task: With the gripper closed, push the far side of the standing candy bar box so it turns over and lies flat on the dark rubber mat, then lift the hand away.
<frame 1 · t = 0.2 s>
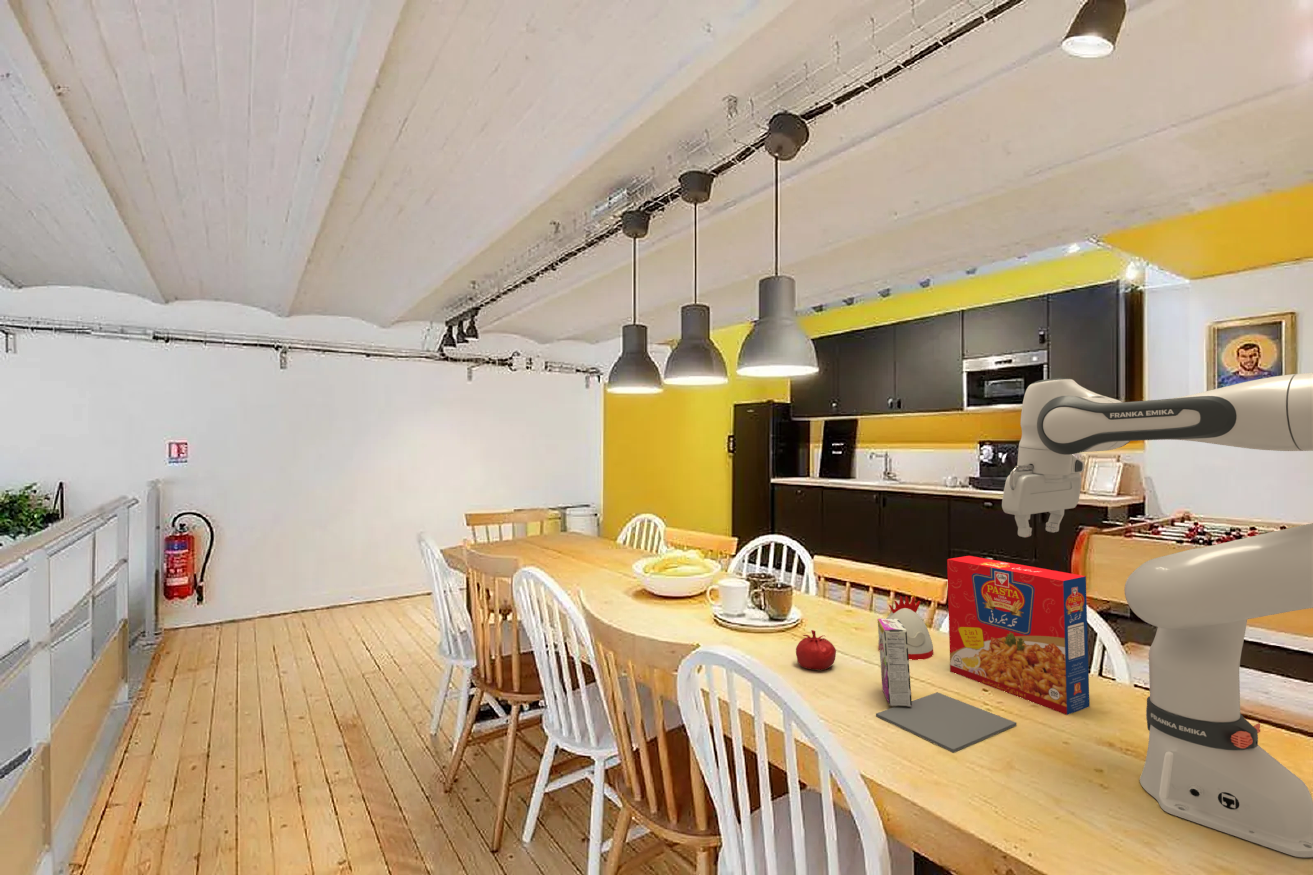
hand: (1038, 534, 121), 39 cm above the table, tool pointing down, fingers open, 8 cm apart
candy bar box: (896, 699, 139), on the table, touching rubber mat
pasta box: (1014, 688, 144), on the table
pomegranate: (816, 667, 160), on the table
rubber mat: (944, 720, 128), on the table
kitchen timer: (905, 652, 170), on the table
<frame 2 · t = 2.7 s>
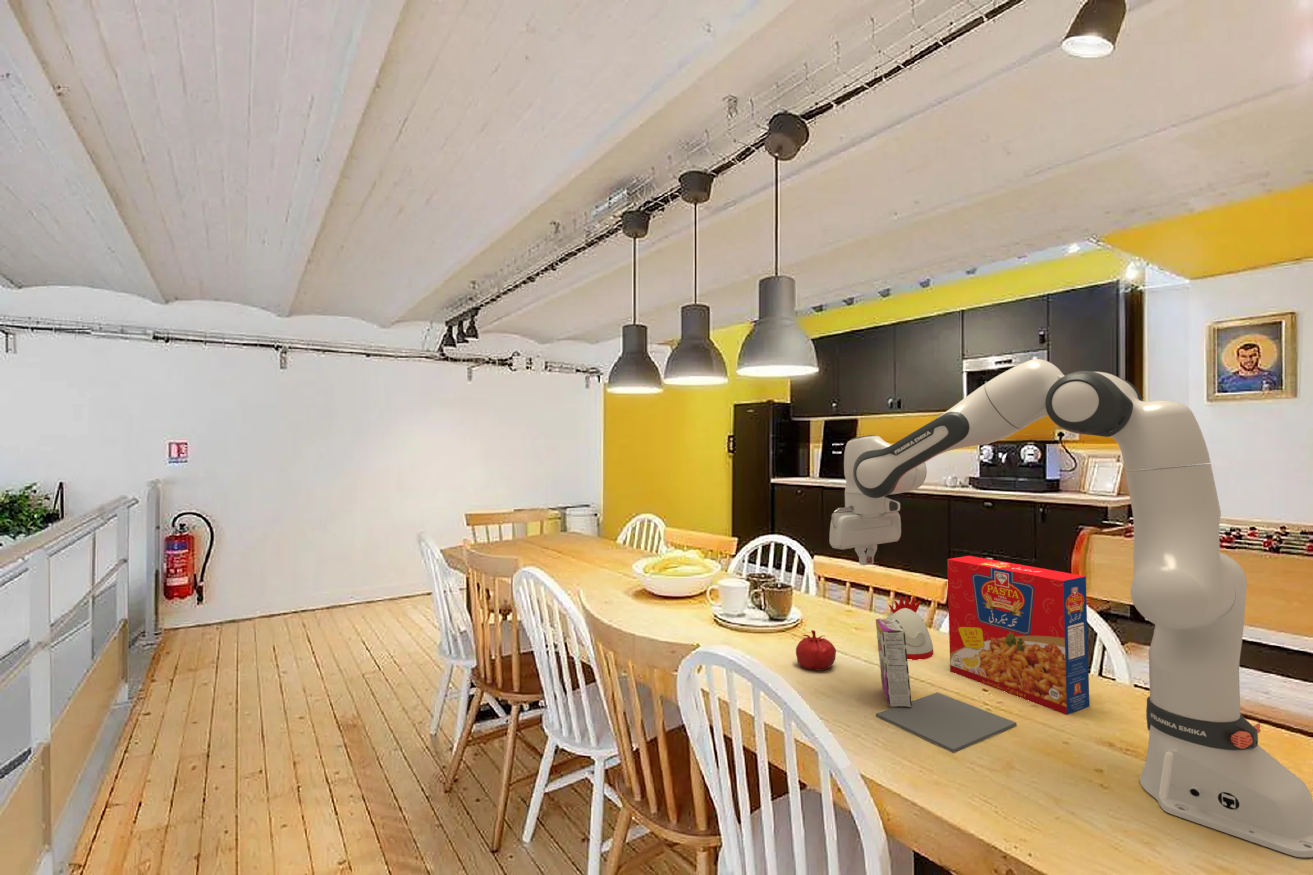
hand: (866, 564, 145), 29 cm above the table, tool pointing down, fingers closed
nothing on the table moved.
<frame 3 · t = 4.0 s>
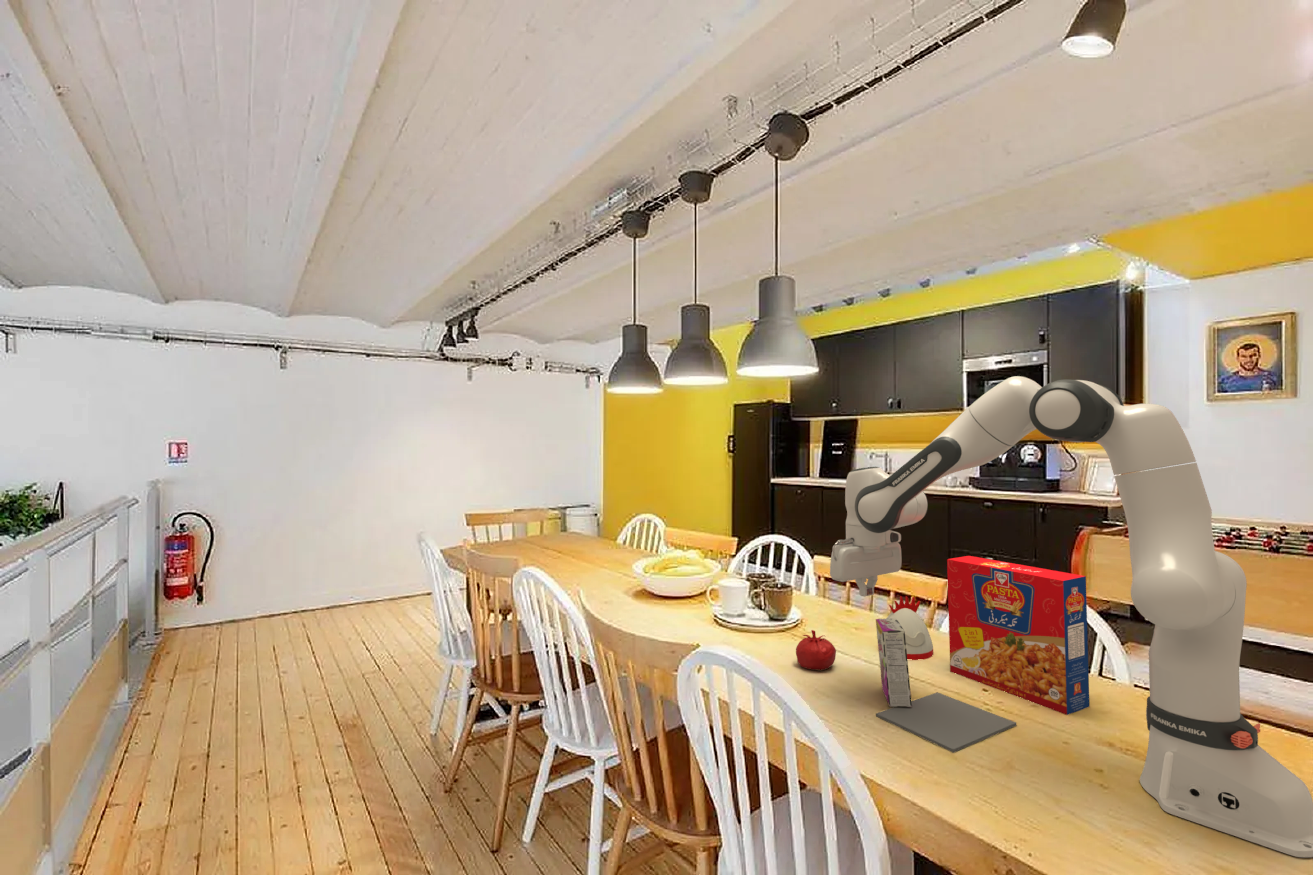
hand: (866, 595, 145), 22 cm above the table, tool pointing down, fingers closed
nothing on the table moved.
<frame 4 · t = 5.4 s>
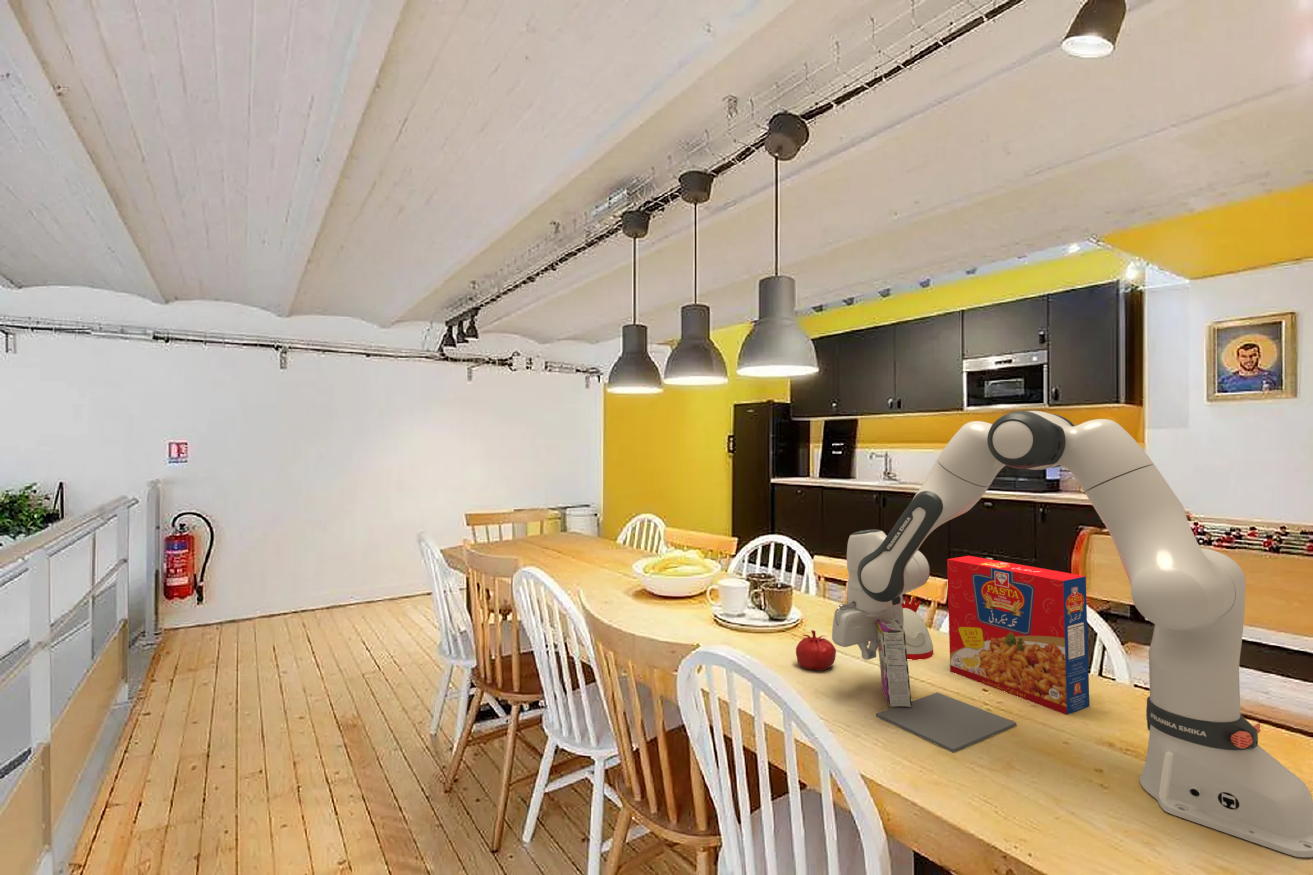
hand: (869, 658, 145), 7 cm above the table, tool pointing down, fingers closed
candy bar box: (896, 699, 139), on the table, touching gripper, rubber mat
everything else where it was.
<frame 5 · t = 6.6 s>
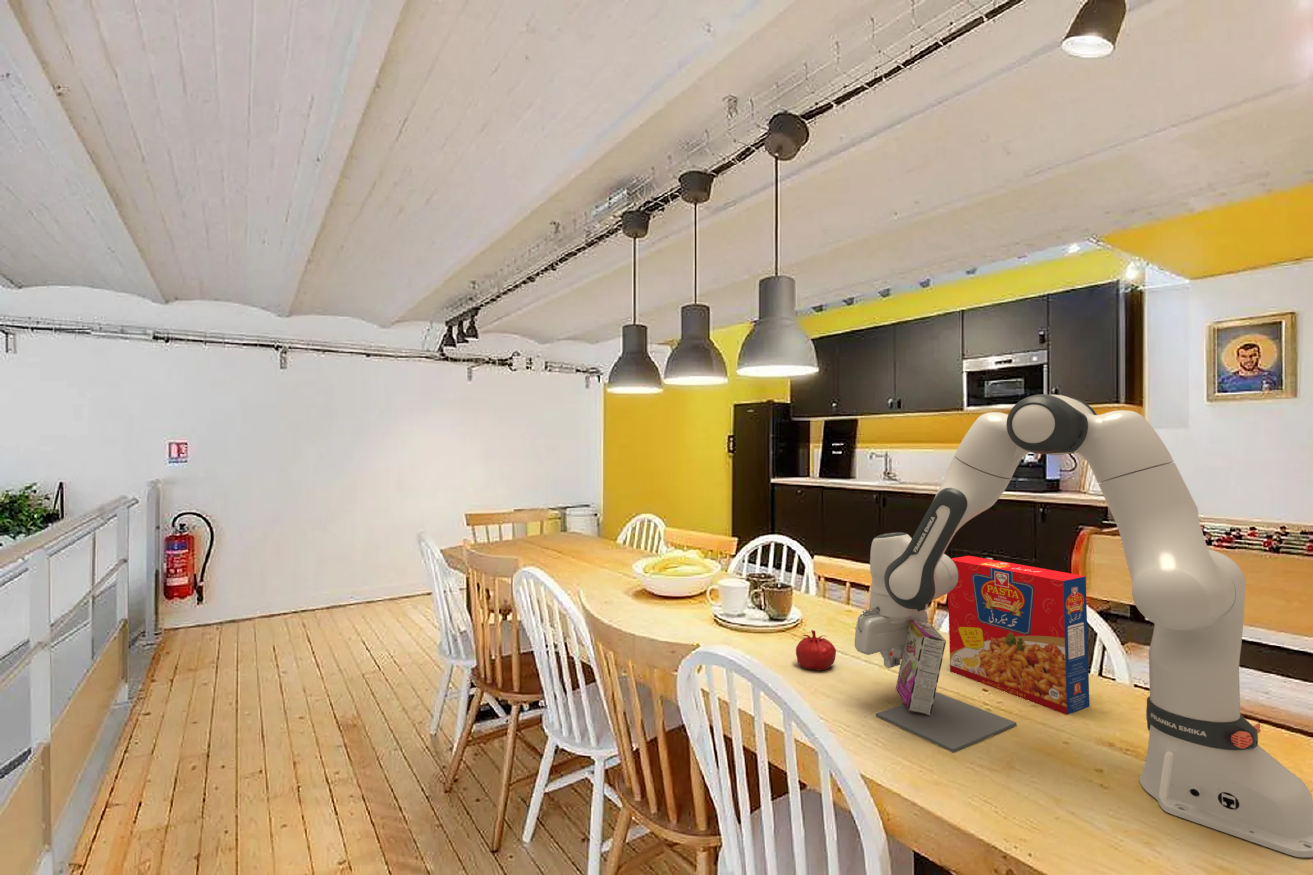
hand: (892, 666, 140), 7 cm above the table, tool pointing down, fingers closed
candy bar box: (911, 703, 135), point 1 cm above the table, touching gripper, rubber mat
everything else where it was.
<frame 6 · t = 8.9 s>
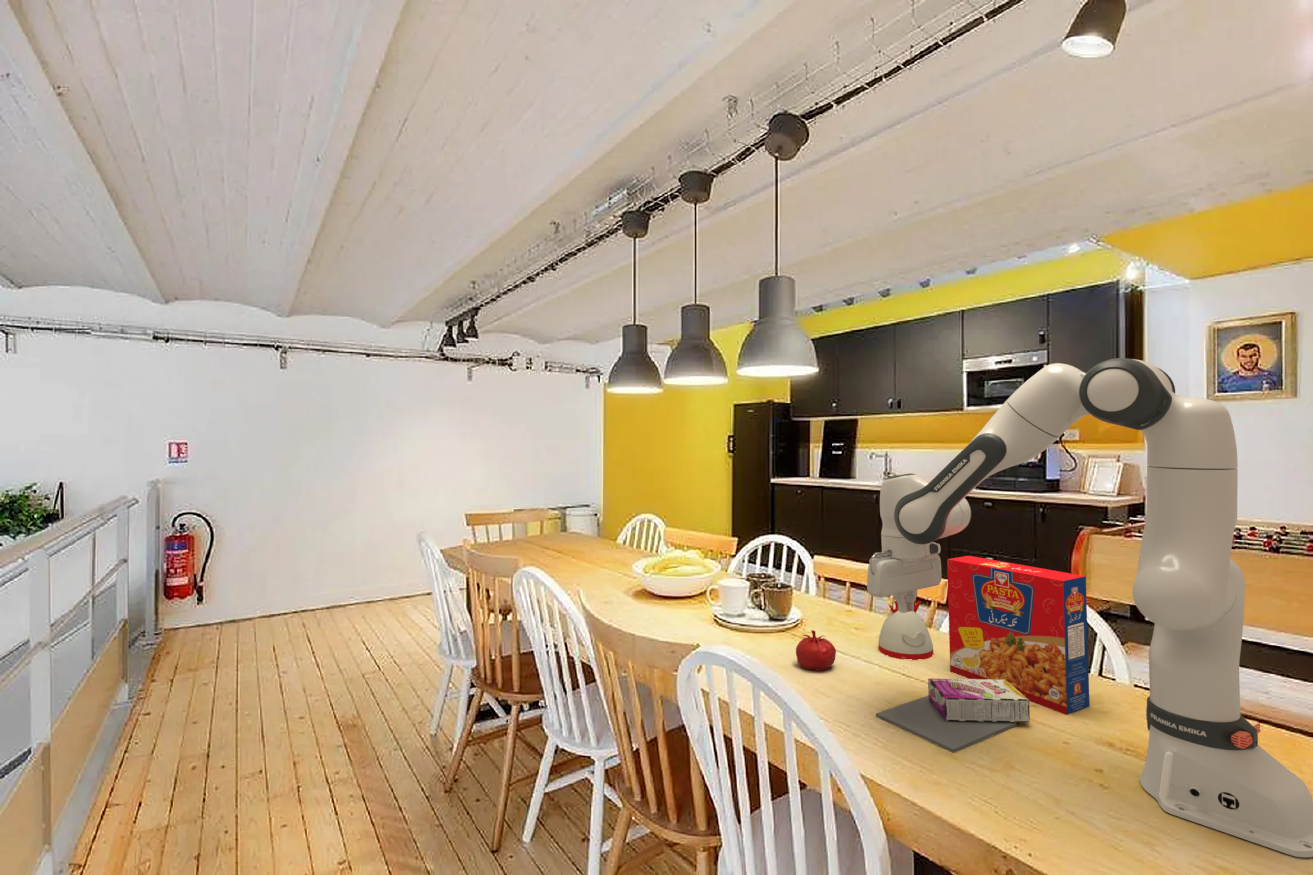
hand: (906, 611, 136), 21 cm above the table, tool pointing down, fingers closed
candy bar box: (935, 698, 132), point 3 cm above the table, touching rubber mat
everything else where it was.
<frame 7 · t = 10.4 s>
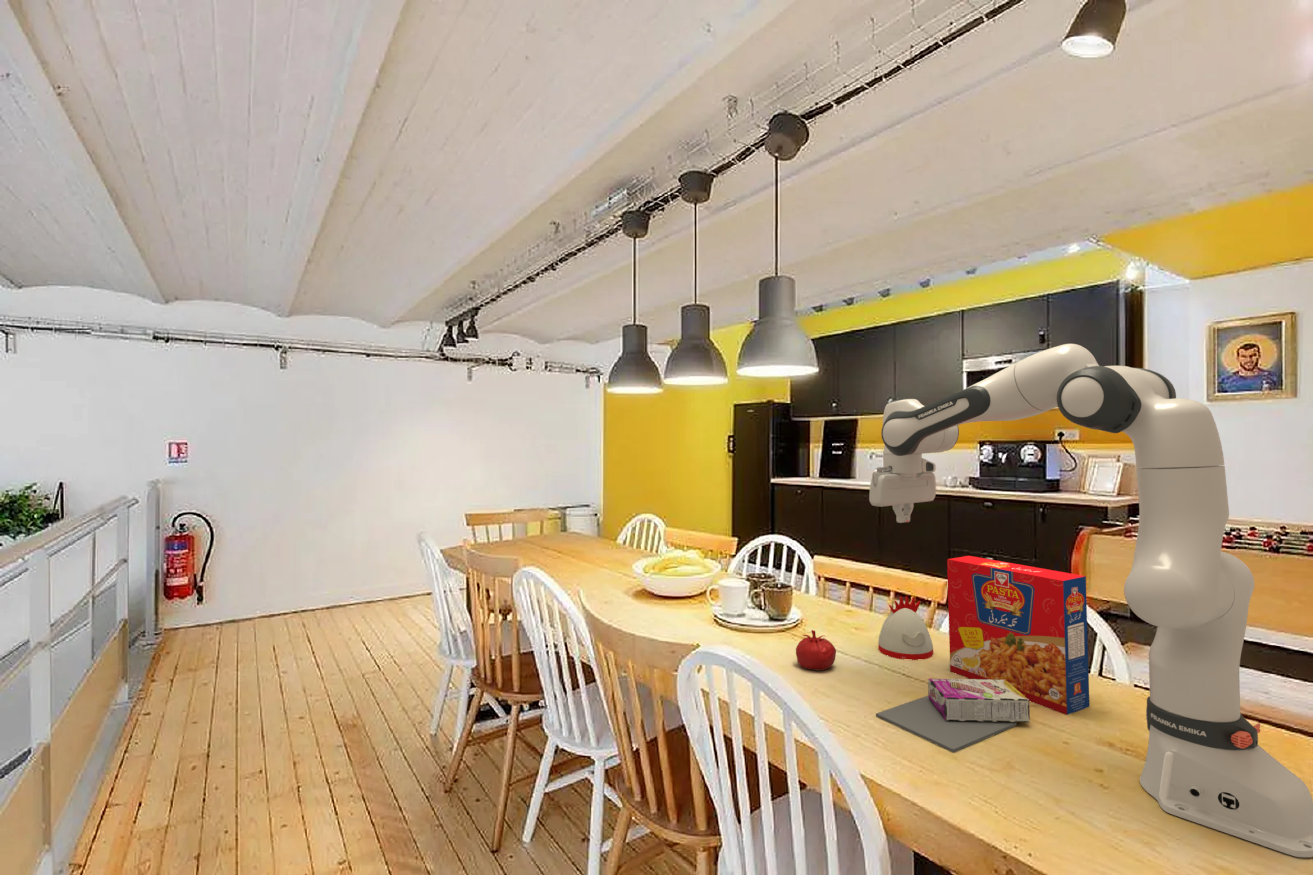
hand: (903, 522, 152), 38 cm above the table, tool pointing down, fingers closed
nothing on the table moved.
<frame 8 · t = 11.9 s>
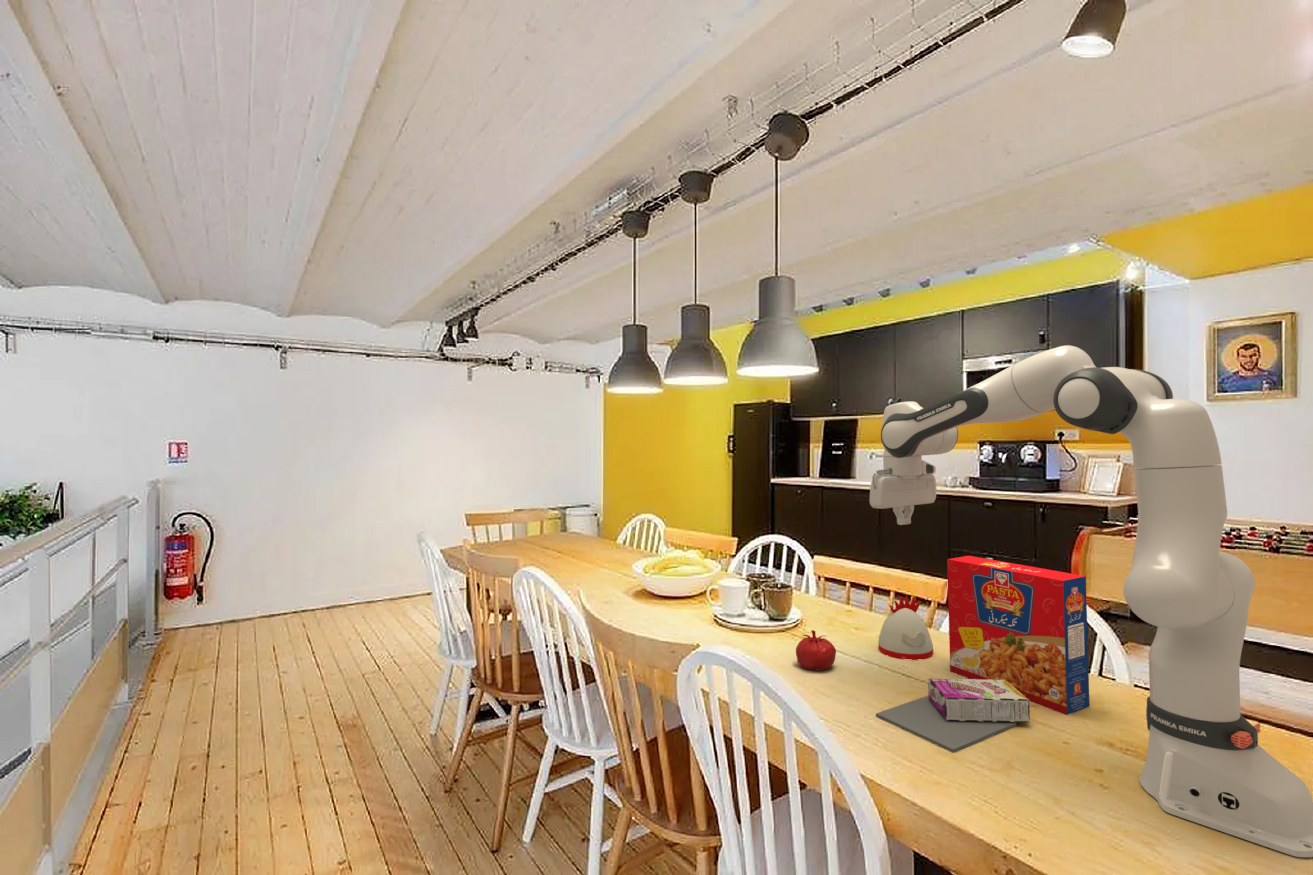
hand: (904, 524, 153), 37 cm above the table, tool pointing down, fingers closed
nothing on the table moved.
at the end: candy bar box tilted 91°; candy bar box inside the target area (6.4 cm from its centre), point 3.1 cm above the table; candy bar box touching rubber mat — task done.
